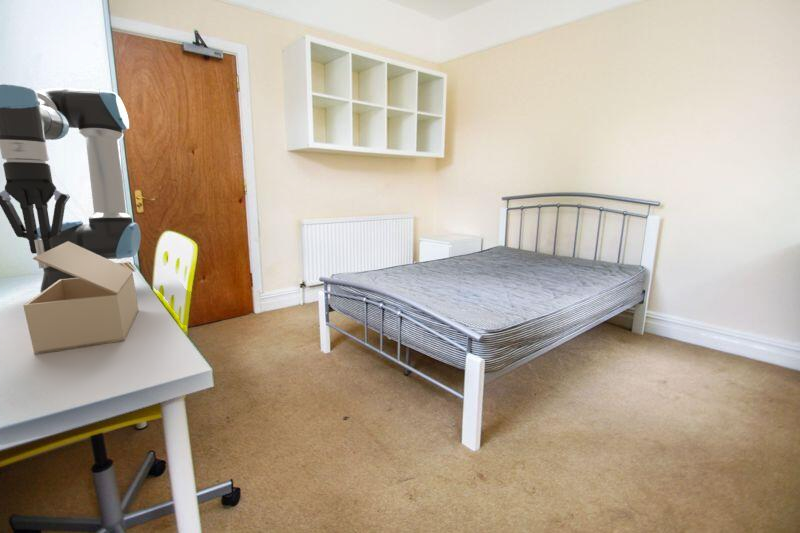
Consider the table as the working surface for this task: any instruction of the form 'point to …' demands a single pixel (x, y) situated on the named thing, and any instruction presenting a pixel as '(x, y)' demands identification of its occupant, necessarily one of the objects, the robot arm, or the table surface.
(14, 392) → the table surface
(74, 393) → the table surface
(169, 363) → the table surface
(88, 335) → the carton
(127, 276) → the carton lid
